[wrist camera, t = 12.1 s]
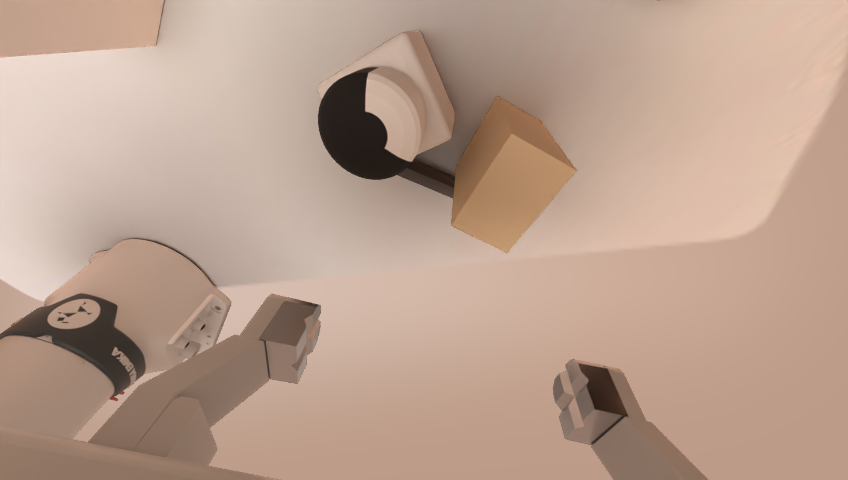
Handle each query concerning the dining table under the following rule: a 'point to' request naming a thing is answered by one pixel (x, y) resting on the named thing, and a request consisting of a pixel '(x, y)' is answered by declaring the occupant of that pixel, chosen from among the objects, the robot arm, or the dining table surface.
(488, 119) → the carton
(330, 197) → the dining table surface
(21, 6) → the milk
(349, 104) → the medicine bottle
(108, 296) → the robot arm
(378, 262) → the dining table surface
